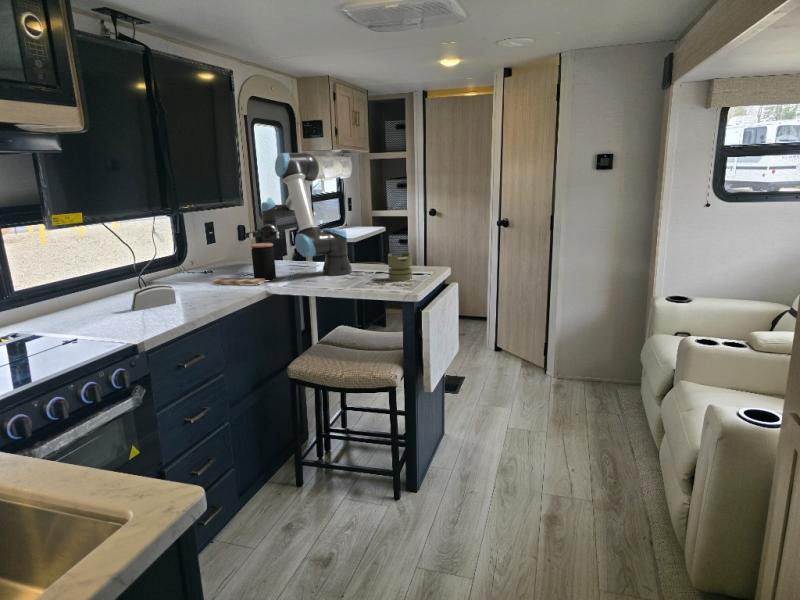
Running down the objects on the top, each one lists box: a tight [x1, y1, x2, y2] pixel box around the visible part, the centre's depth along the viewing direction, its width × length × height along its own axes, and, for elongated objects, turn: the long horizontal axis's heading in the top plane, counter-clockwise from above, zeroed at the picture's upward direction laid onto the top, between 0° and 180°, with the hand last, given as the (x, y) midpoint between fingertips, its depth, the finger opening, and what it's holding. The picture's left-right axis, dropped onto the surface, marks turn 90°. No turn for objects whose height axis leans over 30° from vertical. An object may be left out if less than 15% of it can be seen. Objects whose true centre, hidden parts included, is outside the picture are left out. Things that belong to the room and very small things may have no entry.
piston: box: [387, 252, 413, 282], centre depth 254 cm, size 11×12×11 cm
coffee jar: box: [250, 242, 277, 281], centre depth 263 cm, size 11×11×18 cm
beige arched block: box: [130, 284, 177, 312], centre depth 215 cm, size 17×5×10 cm, turn 135°
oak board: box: [212, 277, 266, 286], centre depth 257 cm, size 24×7×2 cm, turn 77°
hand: (263, 236), depth 269 cm, fingers open, 13 cm apart
